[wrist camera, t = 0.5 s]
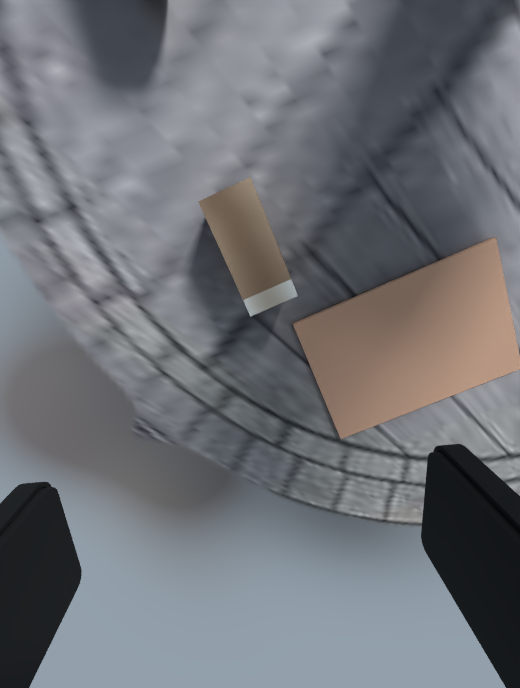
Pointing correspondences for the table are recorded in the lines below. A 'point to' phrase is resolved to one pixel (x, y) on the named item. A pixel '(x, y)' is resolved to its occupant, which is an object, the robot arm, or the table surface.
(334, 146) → the table surface
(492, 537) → the robot arm
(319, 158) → the table surface
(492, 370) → the mat
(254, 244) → the card box
